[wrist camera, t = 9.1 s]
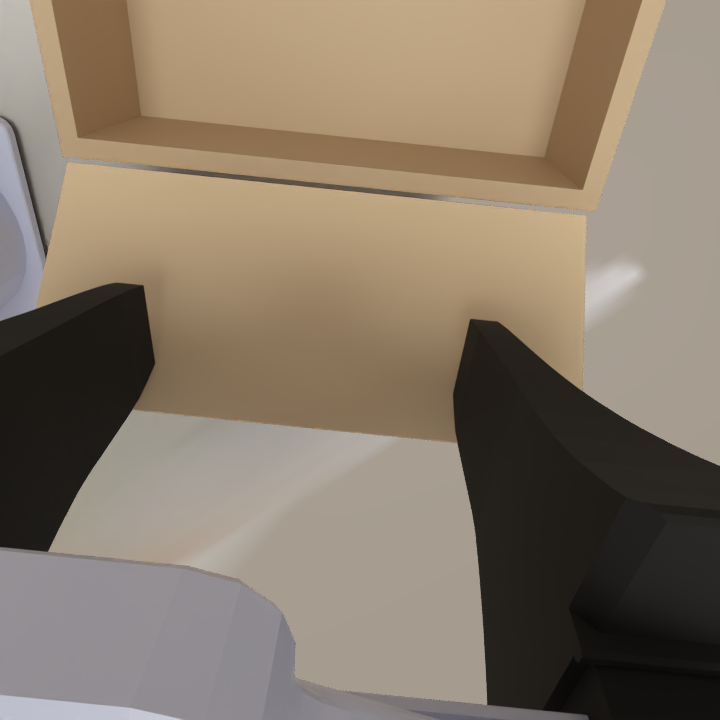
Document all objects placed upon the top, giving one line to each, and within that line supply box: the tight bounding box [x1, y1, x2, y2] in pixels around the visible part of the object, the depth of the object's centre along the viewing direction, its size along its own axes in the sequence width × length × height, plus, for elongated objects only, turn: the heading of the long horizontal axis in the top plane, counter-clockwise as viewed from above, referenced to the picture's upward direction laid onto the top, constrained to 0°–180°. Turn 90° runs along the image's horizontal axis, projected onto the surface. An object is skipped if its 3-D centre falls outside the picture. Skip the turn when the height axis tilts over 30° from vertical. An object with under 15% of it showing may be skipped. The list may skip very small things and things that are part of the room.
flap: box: [35, 162, 586, 443], centre depth 13 cm, size 13×6×1 cm
